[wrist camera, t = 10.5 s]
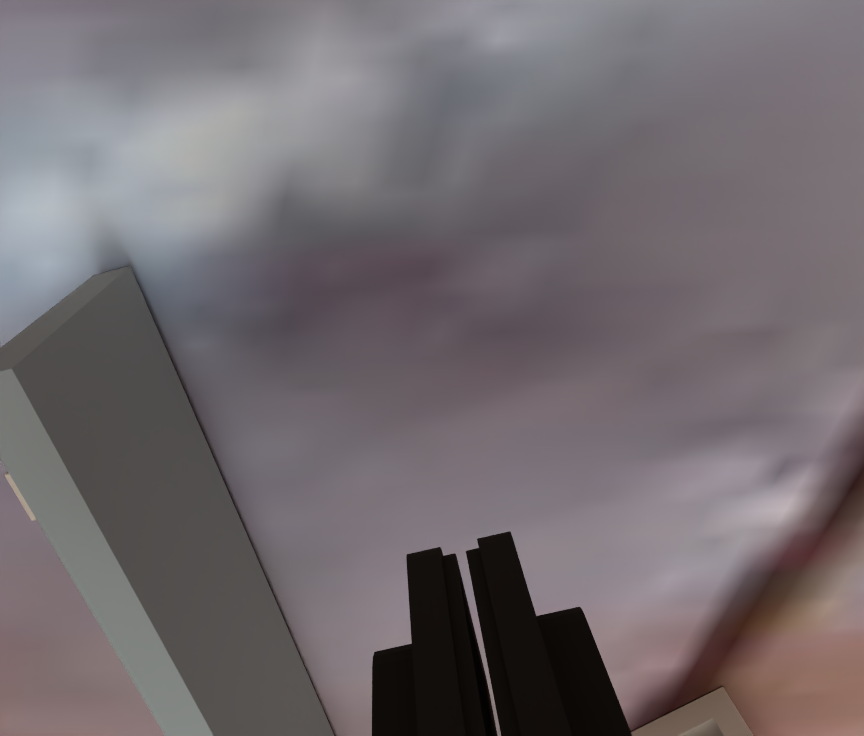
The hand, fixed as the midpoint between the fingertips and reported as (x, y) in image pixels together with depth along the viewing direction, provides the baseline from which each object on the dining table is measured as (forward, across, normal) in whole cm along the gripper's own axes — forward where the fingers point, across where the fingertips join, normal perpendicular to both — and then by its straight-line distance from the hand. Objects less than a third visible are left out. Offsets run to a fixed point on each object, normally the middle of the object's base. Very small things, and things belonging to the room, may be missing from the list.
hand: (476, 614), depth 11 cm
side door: (+10, +8, +9) cm, 16 cm away
